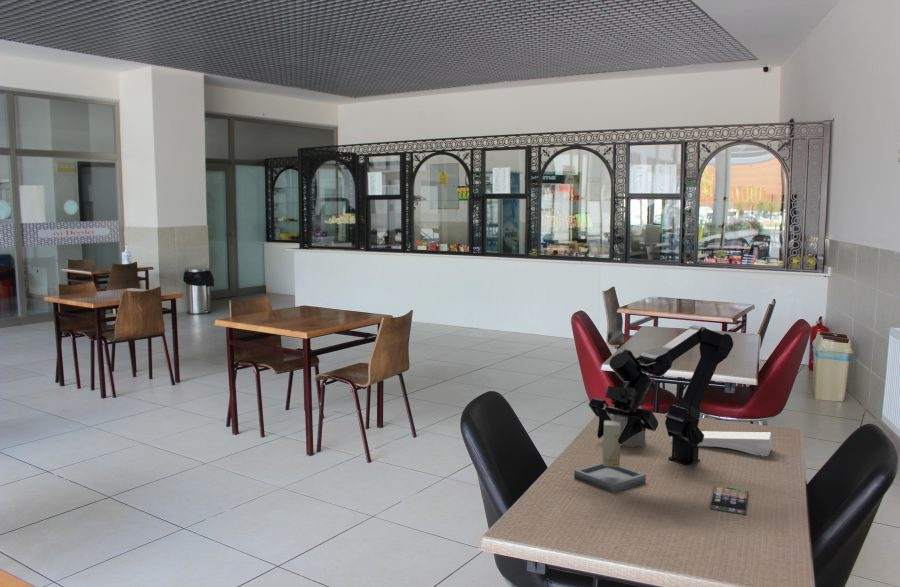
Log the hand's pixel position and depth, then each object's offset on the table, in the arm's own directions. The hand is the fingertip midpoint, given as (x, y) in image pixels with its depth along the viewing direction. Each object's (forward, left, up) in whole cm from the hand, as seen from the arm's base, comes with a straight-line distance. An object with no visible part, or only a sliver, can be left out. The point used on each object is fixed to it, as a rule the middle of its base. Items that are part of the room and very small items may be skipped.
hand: (608, 440), depth 187 cm
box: (0, +1, -7) cm, 7 cm away
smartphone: (+26, +14, -12) cm, 32 cm away
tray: (0, +1, -11) cm, 11 cm away
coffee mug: (-20, +31, -11) cm, 39 cm away
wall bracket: (0, +52, -12) cm, 54 cm away
